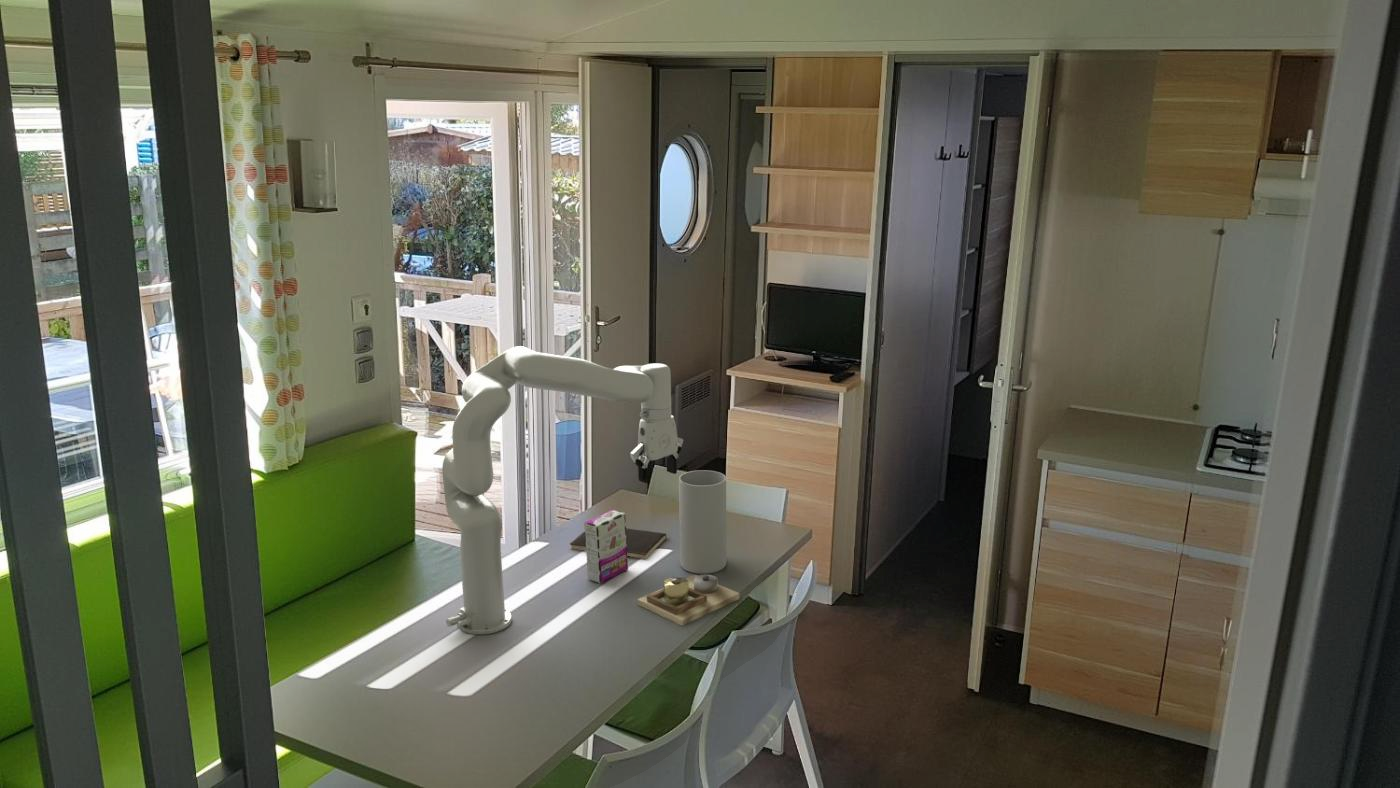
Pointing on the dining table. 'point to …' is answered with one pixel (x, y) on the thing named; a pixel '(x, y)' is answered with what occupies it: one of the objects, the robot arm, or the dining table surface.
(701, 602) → the carrier
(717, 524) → the cylinder vase
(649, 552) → the hardcover book
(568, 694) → the dining table surface
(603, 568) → the candy bar box
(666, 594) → the gold round vessel
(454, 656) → the dining table surface
